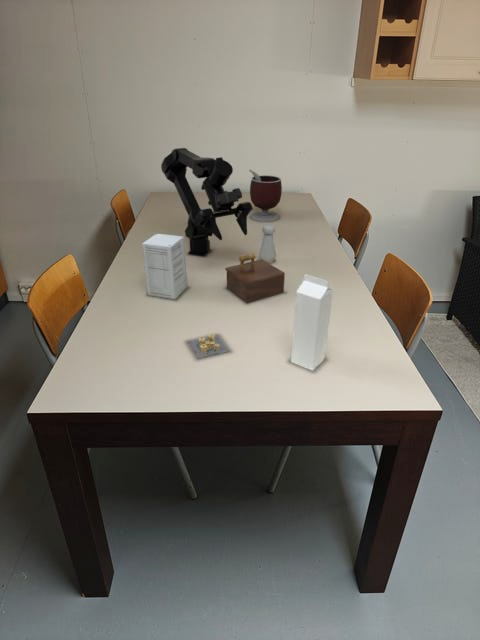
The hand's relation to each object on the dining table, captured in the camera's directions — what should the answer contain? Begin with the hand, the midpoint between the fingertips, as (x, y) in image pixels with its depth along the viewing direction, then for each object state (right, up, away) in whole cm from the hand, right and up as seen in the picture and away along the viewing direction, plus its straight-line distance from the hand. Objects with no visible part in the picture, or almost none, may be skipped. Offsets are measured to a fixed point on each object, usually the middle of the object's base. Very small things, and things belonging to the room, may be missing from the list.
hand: (234, 237), depth 145 cm
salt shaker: (+12, -6, +18) cm, 22 cm away
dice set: (-6, -33, -30) cm, 45 cm away
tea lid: (+6, -12, -5) cm, 14 cm away
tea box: (+7, -17, -2) cm, 19 cm away
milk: (+18, -36, -35) cm, 53 cm away
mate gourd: (+12, +20, +62) cm, 66 cm away
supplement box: (-20, -18, -3) cm, 27 cm away
